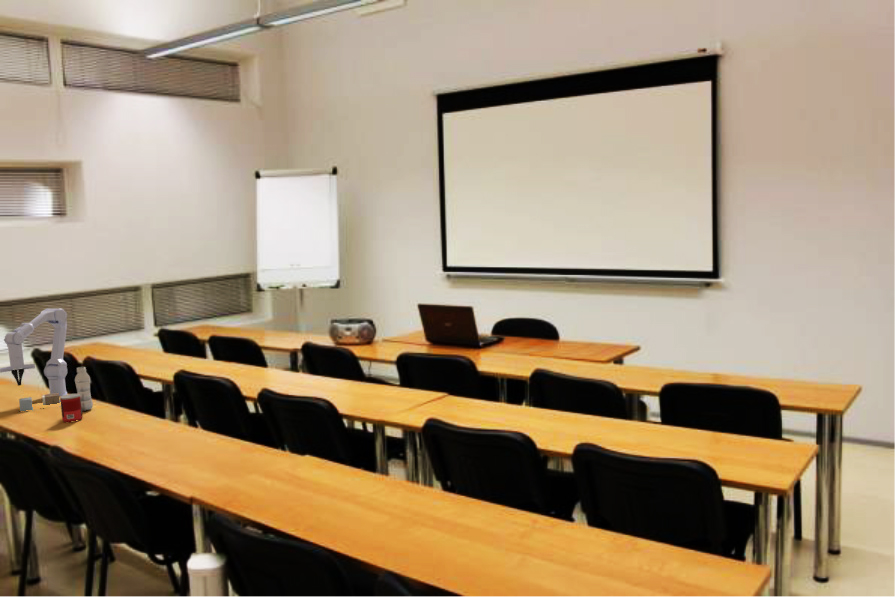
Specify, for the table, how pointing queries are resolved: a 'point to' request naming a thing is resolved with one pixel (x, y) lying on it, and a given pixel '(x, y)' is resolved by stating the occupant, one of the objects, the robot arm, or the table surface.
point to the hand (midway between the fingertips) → (19, 385)
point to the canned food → (71, 407)
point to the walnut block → (50, 399)
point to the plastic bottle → (83, 388)
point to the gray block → (25, 404)
